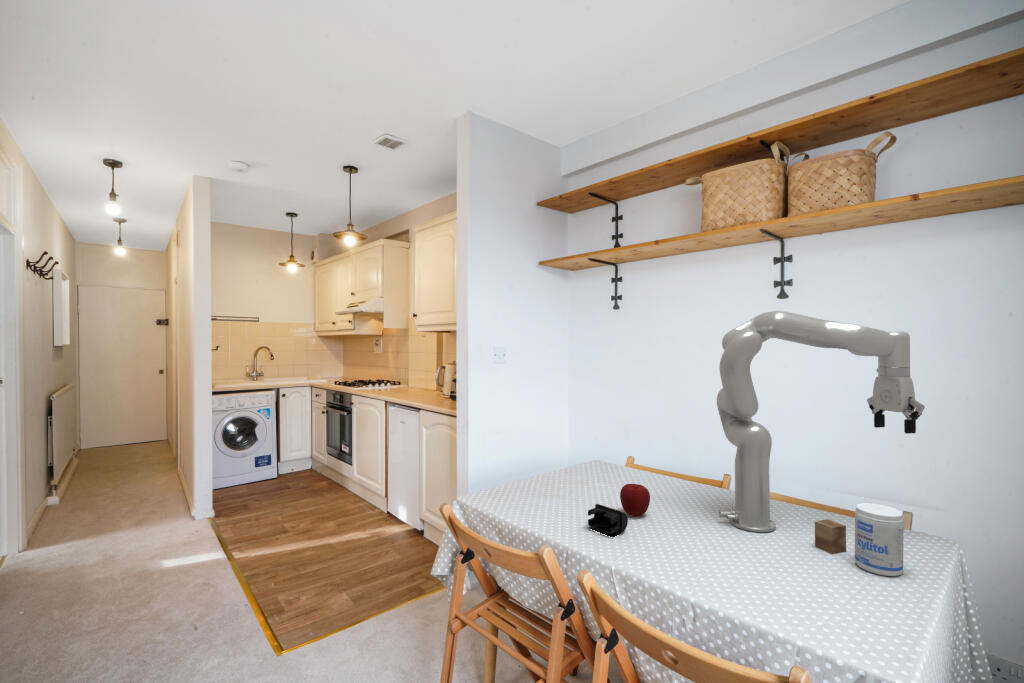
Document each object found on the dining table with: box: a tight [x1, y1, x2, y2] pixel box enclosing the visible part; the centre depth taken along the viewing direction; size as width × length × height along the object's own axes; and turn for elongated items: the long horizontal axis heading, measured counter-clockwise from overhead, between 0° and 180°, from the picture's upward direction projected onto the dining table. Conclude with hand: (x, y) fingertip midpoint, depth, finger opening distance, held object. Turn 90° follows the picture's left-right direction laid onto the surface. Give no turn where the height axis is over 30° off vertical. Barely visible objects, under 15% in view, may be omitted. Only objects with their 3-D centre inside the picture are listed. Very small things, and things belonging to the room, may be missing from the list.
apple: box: [619, 483, 651, 518], centre depth 156 cm, size 10×10×10 cm
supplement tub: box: [854, 502, 905, 577], centre depth 118 cm, size 10×10×15 cm
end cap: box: [587, 503, 629, 538], centre depth 144 cm, size 10×7×7 cm
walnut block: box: [814, 518, 847, 555], centre depth 130 cm, size 5×5×7 cm
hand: (894, 430), depth 143 cm, fingers open, 9 cm apart
